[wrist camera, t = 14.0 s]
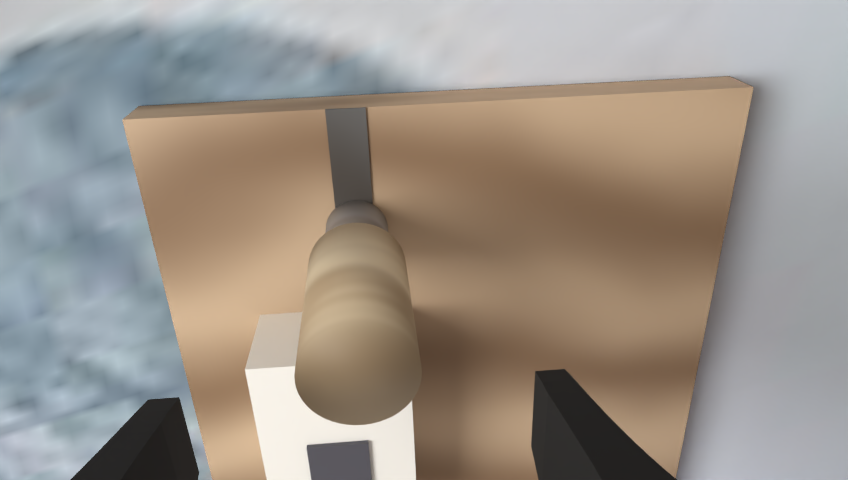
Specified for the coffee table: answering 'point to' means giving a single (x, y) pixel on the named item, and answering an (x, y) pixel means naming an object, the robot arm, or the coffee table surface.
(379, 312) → the awl
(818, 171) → the coffee table surface
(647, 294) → the subfloor board
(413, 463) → the block
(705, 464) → the coffee table surface
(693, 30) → the coffee table surface
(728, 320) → the coffee table surface
